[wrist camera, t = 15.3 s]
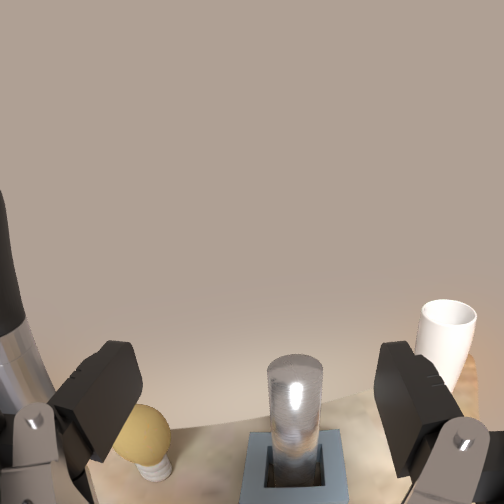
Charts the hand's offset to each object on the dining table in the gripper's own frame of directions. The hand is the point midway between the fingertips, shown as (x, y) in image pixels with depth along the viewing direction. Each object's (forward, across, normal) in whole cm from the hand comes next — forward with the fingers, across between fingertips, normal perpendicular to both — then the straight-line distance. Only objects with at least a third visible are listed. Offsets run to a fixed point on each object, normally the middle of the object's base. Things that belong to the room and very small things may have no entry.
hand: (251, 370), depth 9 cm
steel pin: (+10, -2, +24) cm, 26 cm away
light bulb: (+10, +13, +25) cm, 30 cm away
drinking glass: (+19, -19, +24) cm, 36 cm away
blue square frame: (+10, -2, +24) cm, 26 cm away
